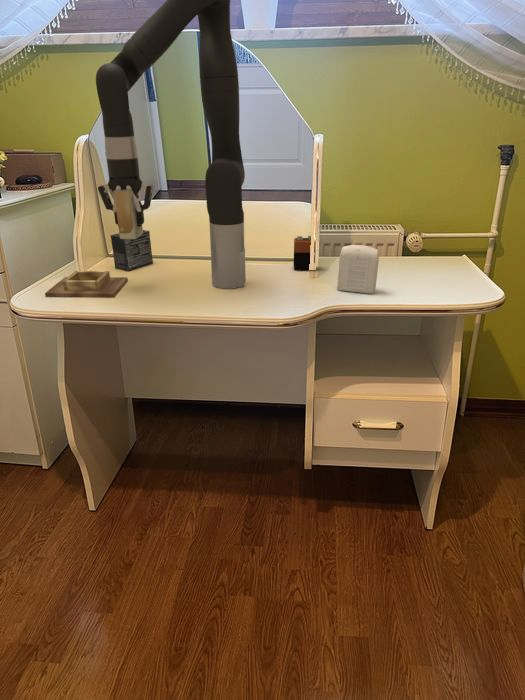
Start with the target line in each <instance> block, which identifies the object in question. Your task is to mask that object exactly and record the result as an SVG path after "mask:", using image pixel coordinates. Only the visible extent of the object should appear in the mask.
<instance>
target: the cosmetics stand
mask: <svg viewBox="0 0 525 700" xmlns="http://www.w3.org/2000/svg"><path fill="white" fill-rule="evenodd" d="M128 281H129V279H128V277H124V276H123V277H120V276H118V277H116V276H113V277H111V274H110V270H75V271H73V272H72V273H71V274H70V275H68V276H64V277H63V278H62V279H61V280H60V281H58V282H57V283H55V284H54V285H53V286H52V287H51V288H49V289H48V290H47V291H45V292H44V296H45V297H46V298H115V297H116V295H117V294H118V293H119V292H120V291H121V289H123V288H124V287H125V285H126V284H127V282H128Z"/></svg>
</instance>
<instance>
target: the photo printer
mask: <svg viewBox="0 0 525 700" xmlns="http://www.w3.org/2000/svg"><path fill="white" fill-rule="evenodd" d="M379 260H380V256H379V250H378V249H377V248H375V247H372V246H369V245H363V244H351V245H345V246H343V247H342V248H341V251H340V253H339V262H338V272H337V273H338V274H337V275H338V276H337V287H336V289H337V291H344V292H345V291H346V292H351V293H352V292H353V293H362V294H375V293H376V289H377V288H376V287H377V279H378V270H379V263H380V262H379Z"/></svg>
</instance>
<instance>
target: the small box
mask: <svg viewBox="0 0 525 700" xmlns="http://www.w3.org/2000/svg"><path fill="white" fill-rule="evenodd" d="M150 232H151V231H150V230H145V229H143V234H142V235H141V236H139V237H138V238H136V239H120V234H119V232H117V233H114V234H110V242H111V246H112V247H111V248H112V254H113V262H114V269H117V270H121V271H125V272H130V271H134V270H137V269H140V268H143V267H147V266H150V265H152V264H154V260H153V255H152V254H153V253H152V242H151V236H150V235H151V233H150Z"/></svg>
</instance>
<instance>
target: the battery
mask: <svg viewBox="0 0 525 700" xmlns="http://www.w3.org/2000/svg"><path fill="white" fill-rule="evenodd" d="M311 236H312V235H307V237H303V236H302V235H300V236H299V235H297V237H294V238H293V270H294V271H295V270H298V271H301V272H303V271H306V272H309V271H308V270H309V264H310V245H311Z"/></svg>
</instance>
